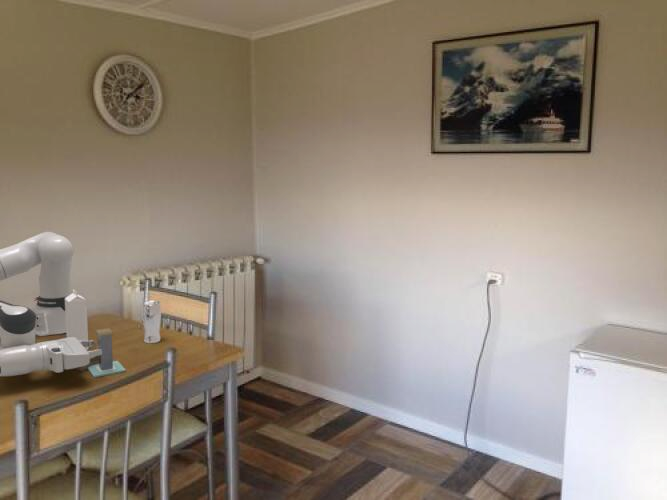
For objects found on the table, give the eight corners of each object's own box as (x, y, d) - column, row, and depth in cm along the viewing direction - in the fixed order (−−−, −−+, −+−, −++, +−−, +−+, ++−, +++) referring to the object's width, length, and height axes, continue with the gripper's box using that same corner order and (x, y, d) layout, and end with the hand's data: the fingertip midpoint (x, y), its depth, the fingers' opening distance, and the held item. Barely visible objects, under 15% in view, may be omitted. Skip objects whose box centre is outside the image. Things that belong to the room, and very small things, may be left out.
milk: (71, 353, 207) (67, 293, 204) (67, 348, 212) (63, 289, 208) (89, 350, 211) (85, 291, 207) (84, 345, 216) (81, 287, 212)
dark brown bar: (77, 371, 191) (77, 362, 190) (100, 358, 202) (100, 350, 202) (82, 371, 190) (82, 363, 190) (105, 359, 202) (105, 351, 201)
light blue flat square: (94, 377, 186) (94, 375, 186) (86, 367, 194) (86, 365, 194) (125, 371, 192) (125, 369, 191) (117, 362, 200) (117, 360, 199)
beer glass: (158, 343, 219) (157, 305, 217) (140, 343, 219) (138, 304, 217) (164, 338, 226) (163, 300, 224) (146, 337, 226) (145, 300, 224)
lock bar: (101, 370, 190) (99, 333, 188) (98, 367, 193) (96, 330, 191) (113, 368, 192) (112, 331, 190) (110, 364, 195) (108, 328, 193)
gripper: (46, 354, 190) (90, 347, 198) (58, 374, 174) (106, 365, 182) (45, 336, 189) (89, 329, 197) (57, 354, 173) (105, 346, 181)
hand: (97, 347), depth 190 cm, fingers open, 8 cm apart
